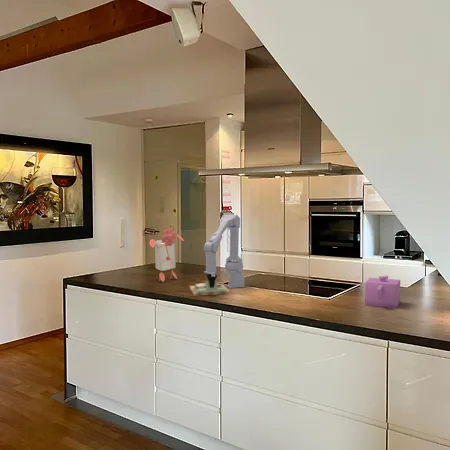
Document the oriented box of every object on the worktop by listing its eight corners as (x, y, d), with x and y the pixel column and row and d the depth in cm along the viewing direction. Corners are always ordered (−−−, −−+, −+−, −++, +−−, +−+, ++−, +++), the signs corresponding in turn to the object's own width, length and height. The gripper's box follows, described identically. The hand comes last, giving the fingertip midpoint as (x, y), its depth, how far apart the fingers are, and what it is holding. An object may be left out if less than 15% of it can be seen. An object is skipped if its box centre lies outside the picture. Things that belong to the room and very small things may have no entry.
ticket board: (222, 286, 285) (222, 281, 285) (229, 293, 266) (229, 288, 266) (189, 288, 281) (189, 283, 281) (194, 295, 262) (194, 290, 262)
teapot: (401, 299, 246) (402, 272, 245) (395, 310, 223) (395, 281, 222) (371, 296, 252) (371, 271, 251) (362, 307, 230) (363, 279, 229)
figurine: (148, 283, 300) (146, 228, 297) (178, 277, 319) (177, 226, 316) (163, 286, 290) (161, 230, 287) (193, 279, 308) (192, 226, 305)
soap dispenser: (163, 271, 342) (162, 241, 341) (148, 269, 350) (148, 240, 348) (176, 268, 355) (175, 239, 353) (162, 266, 363) (161, 238, 361)
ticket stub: (222, 289, 269) (222, 278, 269) (224, 291, 264) (224, 280, 264) (198, 290, 266) (198, 280, 266) (199, 292, 262) (199, 281, 261)
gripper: (202, 261, 269) (202, 285, 270) (206, 265, 255) (206, 290, 256) (214, 261, 271) (214, 284, 272) (218, 265, 256) (219, 289, 258)
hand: (211, 287), depth 264 cm, fingers closed on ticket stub
